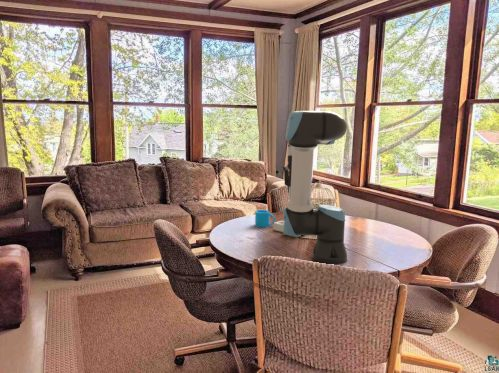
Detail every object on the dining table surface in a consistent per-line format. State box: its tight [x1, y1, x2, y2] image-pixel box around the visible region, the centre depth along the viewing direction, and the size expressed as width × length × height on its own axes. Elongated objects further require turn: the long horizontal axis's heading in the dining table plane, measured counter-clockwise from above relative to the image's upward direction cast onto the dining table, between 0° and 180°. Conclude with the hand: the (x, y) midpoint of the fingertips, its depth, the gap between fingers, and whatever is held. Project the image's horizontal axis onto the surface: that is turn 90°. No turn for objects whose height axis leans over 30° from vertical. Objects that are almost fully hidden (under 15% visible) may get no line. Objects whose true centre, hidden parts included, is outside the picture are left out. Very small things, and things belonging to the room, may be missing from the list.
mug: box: [254, 209, 276, 228], centre depth 236 cm, size 12×8×8 cm
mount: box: [273, 220, 284, 233], centre depth 227 cm, size 7×7×4 cm
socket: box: [282, 223, 301, 238], centre depth 219 cm, size 9×9×6 cm
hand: (293, 199), depth 217 cm, fingers closed on pin, 3 cm apart
